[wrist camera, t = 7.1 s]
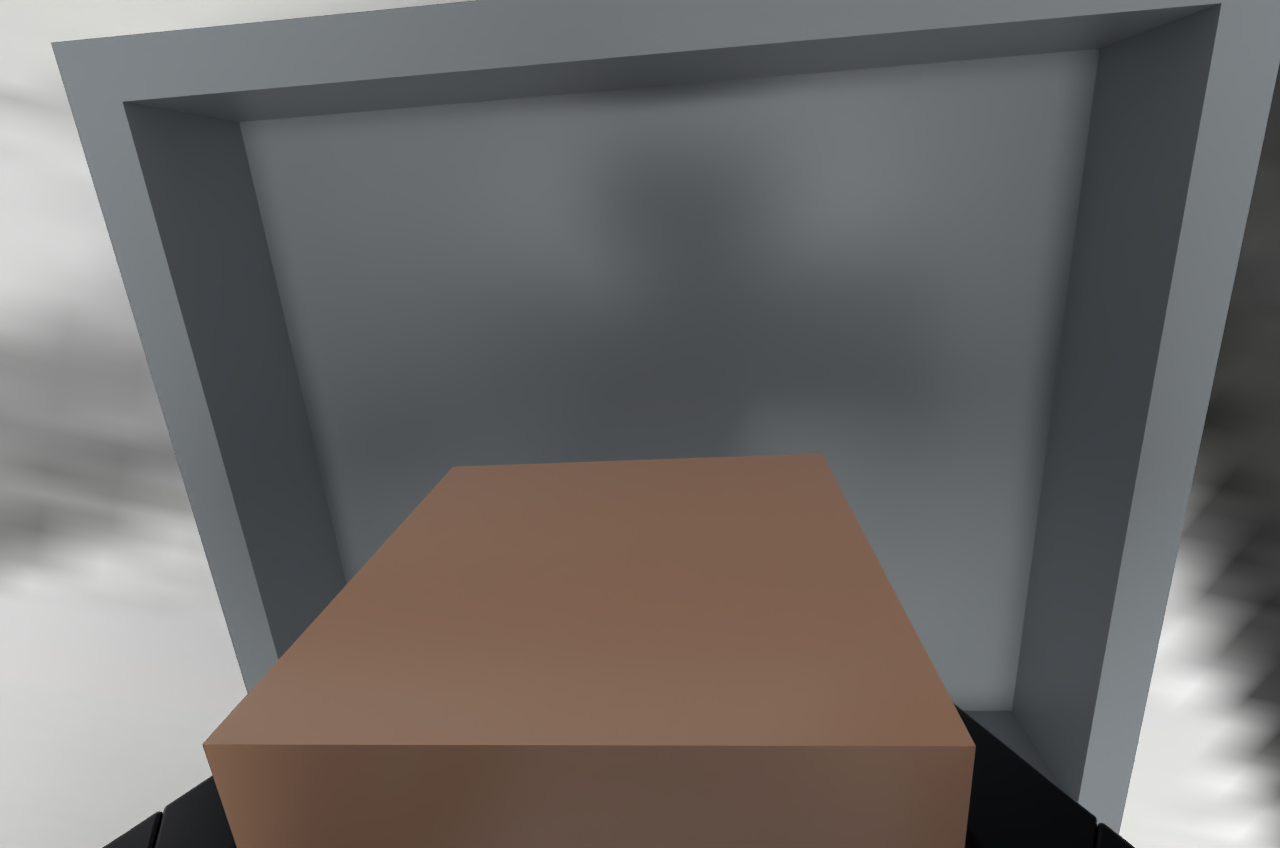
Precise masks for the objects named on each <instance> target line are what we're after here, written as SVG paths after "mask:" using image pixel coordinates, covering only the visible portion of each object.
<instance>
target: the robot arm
mask: <svg viewBox="0 0 1280 848" xmlns="http://www.w3.org/2000/svg"><path fill="white" fill-rule="evenodd" d="M953 704H954V703H953ZM954 706H955V707H956V709H957V711H958V713H959V715H960V717H961V719H962V721H963V723H964V725H965V726H966V728H967V730H968V732H969V734H970V736H971V738H972V740H973V742H974V744H975V745H976V749H975V758H974V767H973V776H972V785H971V794H970V803H969V812H968V821H967V830H966V839H965V848H1135V847H1133V846H1132V845H1131V844H1130V843H1128V842H1127V841H1126V840H1125V839H1123V838H1122V837H1121V836H1120V835H1118V834H1117V833H1116V832H1115V831H1113V830H1112V829H1111V828H1110V827H1108V826H1107V825H1106V824H1104V823H1099V824H1098V825H1097V818H1096V817H1095V816H1094V815H1093V814H1092V813H1090V812H1089V811H1088V810H1087V809H1085V808H1084V807H1083V806H1082V805H1080V804H1079V803H1078V802H1077V801H1075V800H1074V799H1073V798H1072V797H1070V796H1069V795H1068V794H1067V793H1065V792H1064V791H1063V790H1062V789H1060V788H1059V787H1058V786H1057V785H1055V784H1054V783H1053V782H1052V781H1050V780H1049V779H1048V778H1047V777H1045V776H1044V775H1043V774H1042V773H1040V772H1039V771H1038V770H1037V769H1035V768H1034V767H1033V766H1032V765H1030V764H1029V763H1028V762H1027V761H1025V760H1024V759H1023V758H1022V757H1020V756H1019V755H1018V754H1017V753H1015V752H1014V751H1013V750H1012V749H1010V748H1009V747H1008V746H1007V745H1005V744H1004V743H1003V742H1002V741H1000V740H999V739H998V738H997V737H995V736H994V735H993V734H992V733H990V732H989V731H988V730H987V729H985V728H984V727H983V726H982V725H980V724H979V723H978V722H977V721H975V720H974V719H973V718H972V717H970V716H969V715H968V714H967V713H965V712H964V711H963V710H962V709H960V708H959V707H958V706H957V705H955V704H954ZM103 848H237V846H236V843H235V840H234V837H233V834H232V831H231V828H230V825H229V822H228V819H227V816H226V813H225V810H224V807H223V804H222V801H221V798H220V796H219V793H218V790H217V787H216V784H215V781H214V778H213V776H211V777H210V778H208V779H206V780H205V781H203V782H202V783H200V784H199V785H197V786H196V787H194V788H193V789H191V790H190V791H188V792H187V793H185V794H184V795H182V796H181V797H179V798H178V799H176V800H175V801H173V802H172V803H170V804H169V805H167V806H166V807H165V809H164V811H163V813H162V812H156V813H155V814H153V815H152V816H150V817H149V818H147V819H146V820H144V821H143V822H141V823H140V824H138V825H137V826H135V827H134V828H132V829H131V830H129V831H128V832H126V833H125V834H123V835H122V836H120V837H118V838H117V839H115V840H114V841H112V842H111V843H109V844H108V845H106V846H104V847H103Z"/></svg>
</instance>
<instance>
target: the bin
mask: <svg viewBox="0 0 1280 848" xmlns="http://www.w3.org/2000/svg"><path fill="white" fill-rule="evenodd" d="M51 44H52V48H53V51H54V54H55V58H56V61H57V64H58V68H59V71H60V74H61V77H62V81H63V84H64V87H65V91H66V94H67V97H68V101H69V104H70V107H71V111H72V114H73V117H74V121H75V124H76V127H77V130H78V134H79V137H80V140H81V144H82V147H83V150H84V154H85V157H86V160H87V164H88V167H89V170H90V173H91V177H92V180H93V183H94V187H95V190H96V193H97V197H98V200H99V203H100V207H101V210H102V213H103V216H104V220H105V223H106V226H107V230H108V233H109V236H110V240H111V243H112V246H113V250H114V253H115V256H116V259H117V263H118V266H119V269H120V273H121V276H122V279H123V283H124V286H125V289H126V293H127V296H128V299H129V302H130V306H131V309H132V312H133V316H134V319H135V322H136V326H137V329H138V332H139V336H140V339H141V342H142V345H143V349H144V352H145V355H146V359H147V362H148V365H149V369H150V372H151V375H152V379H153V382H154V385H155V388H156V392H157V395H158V398H159V402H160V405H161V408H162V412H163V415H164V418H165V422H166V425H167V428H168V431H169V435H170V438H171V441H172V445H173V448H174V451H175V455H176V458H177V461H178V465H179V468H180V471H181V474H182V478H183V481H184V484H185V488H186V491H187V494H188V498H189V501H190V504H191V508H192V511H193V514H194V518H195V521H196V524H197V527H198V531H199V534H200V537H201V541H202V544H203V547H204V551H205V554H206V557H207V561H208V564H209V567H210V570H211V574H212V577H213V580H214V584H215V587H216V590H217V594H218V597H219V600H220V604H221V607H222V610H223V613H224V617H225V620H226V623H227V627H228V630H229V633H230V637H231V640H232V643H233V647H234V650H235V653H236V656H237V660H238V663H239V666H240V670H241V673H242V676H243V680H244V683H245V686H246V690H247V693H249V692H250V691H251V690H252V689H253V688H254V687H255V686H256V684H257V683H258V682H259V681H260V680H261V679H262V678H263V677H264V676H265V674H266V673H267V672H268V671H269V670H270V669H271V668H272V667H273V666H274V664H275V663H276V662H277V661H278V660H279V659H280V658H281V657H282V656H283V654H284V653H285V652H286V651H287V650H288V649H289V648H290V647H291V646H292V645H293V643H294V642H295V641H296V640H297V639H298V638H299V637H300V636H301V635H302V633H303V632H304V631H305V630H306V629H307V628H308V627H309V626H310V625H311V623H312V622H313V621H314V620H315V619H316V618H317V617H318V616H319V615H320V614H321V612H322V611H323V610H324V609H325V608H326V607H327V606H328V605H329V604H330V602H331V601H332V600H333V599H334V598H335V597H336V596H337V595H338V594H339V592H340V591H341V590H342V589H343V588H344V587H345V586H346V585H347V584H348V582H349V581H350V580H351V579H352V578H353V577H354V576H355V575H356V574H357V573H358V571H359V570H360V569H361V568H362V567H363V566H364V565H365V564H366V563H367V561H368V560H369V559H370V558H371V557H372V556H373V555H374V554H375V553H376V551H377V550H378V549H379V548H380V547H381V546H382V545H383V544H384V543H385V541H386V540H387V539H388V538H389V537H390V536H391V535H392V534H393V533H394V532H395V530H396V529H397V528H398V527H399V526H400V525H401V524H402V523H403V522H404V520H405V519H406V518H407V517H408V516H409V515H410V514H411V513H412V512H413V510H414V509H415V508H416V507H417V506H418V505H419V504H420V503H421V502H422V501H423V499H424V498H425V497H426V496H427V495H428V494H429V493H430V492H431V491H432V489H433V488H434V487H435V486H436V485H437V484H438V483H439V482H440V481H441V479H442V478H443V477H444V476H445V475H446V474H447V473H448V472H449V471H450V469H451V468H452V467H457V466H484V465H512V464H540V463H568V462H596V461H623V460H651V459H679V458H707V457H735V456H762V455H790V454H818V453H822V454H823V456H824V458H825V460H826V462H827V464H828V466H829V468H830V470H831V471H832V473H833V475H834V477H835V479H836V481H837V483H838V485H839V487H840V489H841V491H842V492H843V494H844V496H845V498H846V500H847V502H848V504H849V506H850V508H851V510H852V511H853V513H854V515H855V517H856V519H857V521H858V523H859V525H860V527H861V529H862V530H863V532H864V534H865V536H866V538H867V540H868V542H869V544H870V546H871V548H872V549H873V551H874V553H875V555H876V557H877V559H878V561H879V563H880V565H881V567H882V569H883V570H884V572H885V574H886V576H887V578H888V580H889V582H890V584H891V586H892V588H893V589H894V591H895V593H896V595H897V597H898V599H899V601H900V603H901V605H902V607H903V608H904V610H905V612H906V614H907V616H908V618H909V620H910V622H911V624H912V626H913V628H914V629H915V631H916V633H917V635H918V637H919V639H920V641H921V643H922V645H923V647H924V648H925V650H926V652H927V654H928V656H929V658H930V660H931V662H932V664H933V666H934V667H935V669H936V671H937V673H938V675H939V677H940V679H941V681H942V683H943V685H944V687H945V688H946V690H947V692H948V694H949V696H950V698H951V700H952V702H953V703H954V704H955V705H957V706H958V707H959V708H960V709H962V710H963V711H964V712H965V713H967V714H968V715H969V716H970V717H972V718H973V719H974V720H975V721H977V722H978V723H979V724H980V725H982V726H983V727H984V728H985V729H987V730H988V731H989V732H990V733H992V734H993V735H994V736H995V737H997V738H998V739H999V740H1000V741H1002V742H1003V743H1004V744H1005V745H1007V746H1008V747H1009V748H1010V749H1012V750H1013V751H1014V752H1015V753H1017V754H1018V755H1019V756H1020V757H1022V758H1023V759H1024V760H1025V761H1027V762H1028V763H1029V764H1030V765H1032V766H1033V767H1034V768H1035V769H1037V770H1038V771H1039V772H1040V773H1042V774H1043V775H1044V776H1045V777H1047V778H1048V779H1049V780H1050V781H1052V782H1053V783H1054V784H1055V785H1057V786H1058V787H1059V788H1060V789H1062V790H1063V791H1064V792H1065V793H1067V794H1068V795H1069V796H1070V797H1072V798H1073V799H1074V800H1075V801H1077V802H1078V803H1079V804H1080V805H1082V806H1083V807H1084V808H1085V809H1087V810H1088V811H1089V812H1090V813H1092V814H1093V815H1094V816H1095V817H1096V818H1097V825H1098V824H1099V823H1104V824H1106V825H1107V826H1108V827H1110V828H1111V829H1112V830H1113V831H1115V832H1116V833H1117V834H1118V835H1119V831H1120V826H1121V821H1122V817H1123V812H1124V807H1125V802H1126V797H1127V793H1128V788H1129V783H1130V778H1131V773H1132V769H1133V764H1134V759H1135V754H1136V749H1137V745H1138V740H1139V735H1140V730H1141V725H1142V721H1143V716H1144V711H1145V706H1146V701H1147V697H1148V692H1149V687H1150V682H1151V677H1152V673H1153V668H1154V663H1155V658H1156V653H1157V649H1158V644H1159V639H1160V634H1161V629H1162V625H1163V620H1164V615H1165V610H1166V605H1167V601H1168V596H1169V591H1170V586H1171V581H1172V576H1173V572H1174V567H1175V562H1176V557H1177V552H1178V548H1179V543H1180V538H1181V533H1182V528H1183V524H1184V519H1185V514H1186V509H1187V504H1188V500H1189V495H1190V490H1191V485H1192V480H1193V476H1194V471H1195V466H1196V461H1197V456H1198V452H1199V447H1200V442H1201V437H1202V432H1203V428H1204V423H1205V418H1206V413H1207V408H1208V404H1209V399H1210V394H1211V389H1212V384H1213V380H1214V375H1215V370H1216V365H1217V360H1218V356H1219V351H1220V346H1221V341H1222V336H1223V332H1224V327H1225V322H1226V317H1227V312H1228V308H1229V303H1230V298H1231V293H1232V288H1233V283H1234V279H1235V274H1236V269H1237V264H1238V259H1239V255H1240V250H1241V245H1242V240H1243V235H1244V231H1245V226H1246V221H1247V216H1248V211H1249V207H1250V202H1251V197H1252V192H1253V187H1254V183H1255V178H1256V173H1257V168H1258V163H1259V159H1260V154H1261V149H1262V144H1263V139H1264V135H1265V130H1266V125H1267V120H1268V115H1269V111H1270V106H1271V101H1272V96H1273V91H1274V87H1275V82H1276V77H1277V72H1278V67H1279V63H1280V0H477V1H467V2H457V3H446V4H436V5H426V6H416V7H406V8H396V9H386V10H376V11H366V12H356V13H346V14H336V15H325V16H315V17H305V18H295V19H285V20H275V21H265V22H255V23H245V24H235V25H225V26H215V27H205V28H194V29H184V30H174V31H164V32H154V33H144V34H134V35H124V36H114V37H104V38H94V39H84V40H73V41H63V42H53V43H51Z"/></svg>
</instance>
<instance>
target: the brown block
mask: <svg viewBox="0 0 1280 848" xmlns="http://www.w3.org/2000/svg"><path fill="white" fill-rule="evenodd" d="M202 745H203V748H204V751H205V754H206V757H207V760H208V763H209V766H210V769H211V772H212V775H213V778H214V781H215V784H216V787H217V790H218V793H219V796H220V798H221V801H222V804H223V807H224V810H225V813H226V816H227V819H228V822H229V825H230V828H231V831H232V834H233V837H234V840H235V843H236V846H237V848H965V839H966V830H967V821H968V812H969V803H970V794H971V785H972V776H973V767H974V758H975V749H976V745H975V744H974V742H973V740H972V738H971V736H970V734H969V732H968V730H967V728H966V726H965V725H964V723H963V721H962V719H961V717H960V715H959V713H958V711H957V709H956V707H955V706H954V704H953V702H952V700H951V698H950V696H949V694H948V692H947V690H946V688H945V687H944V685H943V683H942V681H941V679H940V677H939V675H938V673H937V671H936V669H935V667H934V666H933V664H932V662H931V660H930V658H929V656H928V654H927V652H926V650H925V648H924V647H923V645H922V643H921V641H920V639H919V637H918V635H917V633H916V631H915V629H914V628H913V626H912V624H911V622H910V620H909V618H908V616H907V614H906V612H905V610H904V608H903V607H902V605H901V603H900V601H899V599H898V597H897V595H896V593H895V591H894V589H893V588H892V586H891V584H890V582H889V580H888V578H887V576H886V574H885V572H884V570H883V569H882V567H881V565H880V563H879V561H878V559H877V557H876V555H875V553H874V551H873V549H872V548H871V546H870V544H869V542H868V540H867V538H866V536H865V534H864V532H863V530H862V529H861V527H860V525H859V523H858V521H857V519H856V517H855V515H854V513H853V511H852V510H851V508H850V506H849V504H848V502H847V500H846V498H845V496H844V494H843V492H842V491H841V489H840V487H839V485H838V483H837V481H836V479H835V477H834V475H833V473H832V471H831V470H830V468H829V466H828V464H827V462H826V460H825V458H824V456H823V454H822V453H818V454H790V455H762V456H735V457H707V458H679V459H651V460H623V461H596V462H568V463H540V464H512V465H484V466H457V467H452V468H451V469H450V471H449V472H448V473H447V474H446V475H445V476H444V477H443V478H442V479H441V481H440V482H439V483H438V484H437V485H436V486H435V487H434V488H433V489H432V491H431V492H430V493H429V494H428V495H427V496H426V497H425V498H424V499H423V501H422V502H421V503H420V504H419V505H418V506H417V507H416V508H415V509H414V510H413V512H412V513H411V514H410V515H409V516H408V517H407V518H406V519H405V520H404V522H403V523H402V524H401V525H400V526H399V527H398V528H397V529H396V530H395V532H394V533H393V534H392V535H391V536H390V537H389V538H388V539H387V540H386V541H385V543H384V544H383V545H382V546H381V547H380V548H379V549H378V550H377V551H376V553H375V554H374V555H373V556H372V557H371V558H370V559H369V560H368V561H367V563H366V564H365V565H364V566H363V567H362V568H361V569H360V570H359V571H358V573H357V574H356V575H355V576H354V577H353V578H352V579H351V580H350V581H349V582H348V584H347V585H346V586H345V587H344V588H343V589H342V590H341V591H340V592H339V594H338V595H337V596H336V597H335V598H334V599H333V600H332V601H331V602H330V604H329V605H328V606H327V607H326V608H325V609H324V610H323V611H322V612H321V614H320V615H319V616H318V617H317V618H316V619H315V620H314V621H313V622H312V623H311V625H310V626H309V627H308V628H307V629H306V630H305V631H304V632H303V633H302V635H301V636H300V637H299V638H298V639H297V640H296V641H295V642H294V643H293V645H292V646H291V647H290V648H289V649H288V650H287V651H286V652H285V653H284V654H283V656H282V657H281V658H280V659H279V660H278V661H277V662H276V663H275V664H274V666H273V667H272V668H271V669H270V670H269V671H268V672H267V673H266V674H265V676H264V677H263V678H262V679H261V680H260V681H259V682H258V683H257V684H256V686H255V687H254V688H253V689H252V690H251V691H250V692H249V693H248V694H247V695H246V697H245V698H244V699H243V700H242V701H241V702H240V703H239V704H238V705H237V707H236V708H235V709H234V710H233V711H232V712H231V713H230V714H229V715H228V717H227V718H226V719H225V720H224V721H223V722H222V723H221V724H220V725H219V727H218V728H217V729H216V730H215V731H214V732H213V733H212V734H211V735H210V736H209V738H208V739H207V740H206V741H205V742H204V743H203V744H202Z"/></svg>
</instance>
